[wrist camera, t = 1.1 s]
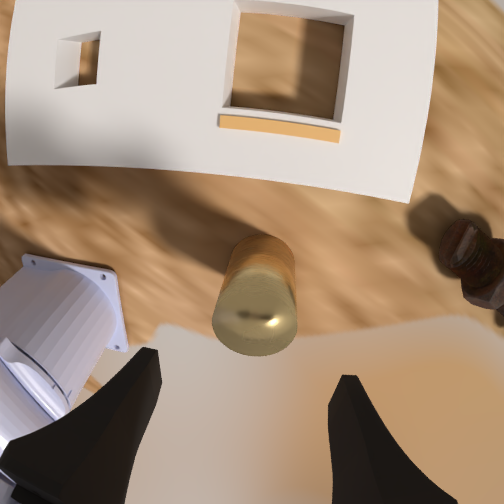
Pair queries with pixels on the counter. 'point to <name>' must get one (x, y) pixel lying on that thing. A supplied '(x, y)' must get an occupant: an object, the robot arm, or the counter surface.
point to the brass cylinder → (257, 298)
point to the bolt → (475, 263)
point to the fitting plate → (218, 92)
